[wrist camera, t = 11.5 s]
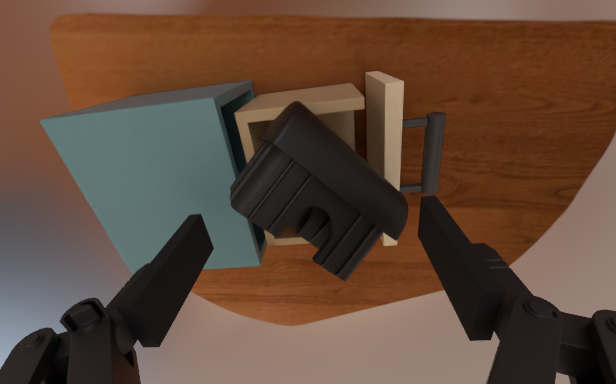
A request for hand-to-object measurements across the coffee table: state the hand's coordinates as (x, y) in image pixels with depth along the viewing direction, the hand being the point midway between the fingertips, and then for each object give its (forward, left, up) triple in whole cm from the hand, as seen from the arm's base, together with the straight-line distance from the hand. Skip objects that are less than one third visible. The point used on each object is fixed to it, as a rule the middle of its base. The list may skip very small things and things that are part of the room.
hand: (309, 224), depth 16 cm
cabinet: (+7, +9, -15) cm, 19 cm away
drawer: (-2, -2, -14) cm, 14 cm away
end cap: (0, +1, -6) cm, 6 cm away
